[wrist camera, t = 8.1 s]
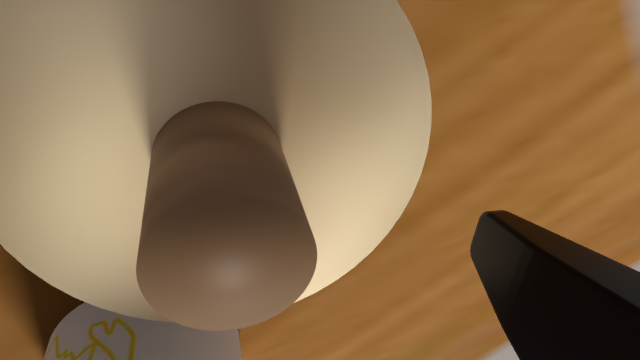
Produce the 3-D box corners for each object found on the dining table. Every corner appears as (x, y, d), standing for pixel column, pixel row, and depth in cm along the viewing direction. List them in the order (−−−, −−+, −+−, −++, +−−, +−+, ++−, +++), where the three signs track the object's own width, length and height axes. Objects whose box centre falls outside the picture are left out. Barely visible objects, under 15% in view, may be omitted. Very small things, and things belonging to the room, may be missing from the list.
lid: (33, 317, 12) (-33, 498, 9) (-124, -132, 7) (-440, -152, 4) (384, 275, 15) (450, 405, 11) (452, -86, 10) (616, -69, 6)
